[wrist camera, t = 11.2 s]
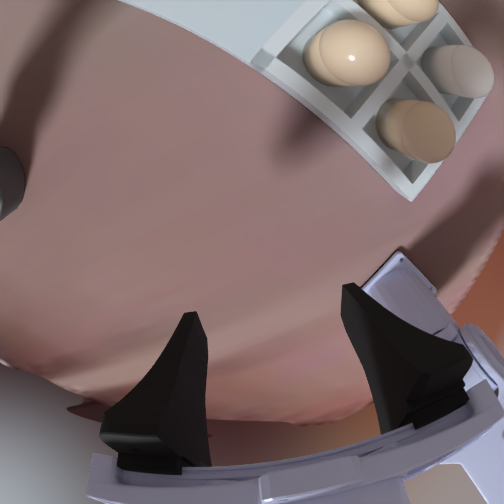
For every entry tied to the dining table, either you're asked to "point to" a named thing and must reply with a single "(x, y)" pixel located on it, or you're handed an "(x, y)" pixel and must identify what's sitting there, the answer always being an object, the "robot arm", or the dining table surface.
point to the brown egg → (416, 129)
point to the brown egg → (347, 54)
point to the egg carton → (316, 94)
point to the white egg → (458, 70)
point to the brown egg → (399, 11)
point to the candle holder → (10, 182)
